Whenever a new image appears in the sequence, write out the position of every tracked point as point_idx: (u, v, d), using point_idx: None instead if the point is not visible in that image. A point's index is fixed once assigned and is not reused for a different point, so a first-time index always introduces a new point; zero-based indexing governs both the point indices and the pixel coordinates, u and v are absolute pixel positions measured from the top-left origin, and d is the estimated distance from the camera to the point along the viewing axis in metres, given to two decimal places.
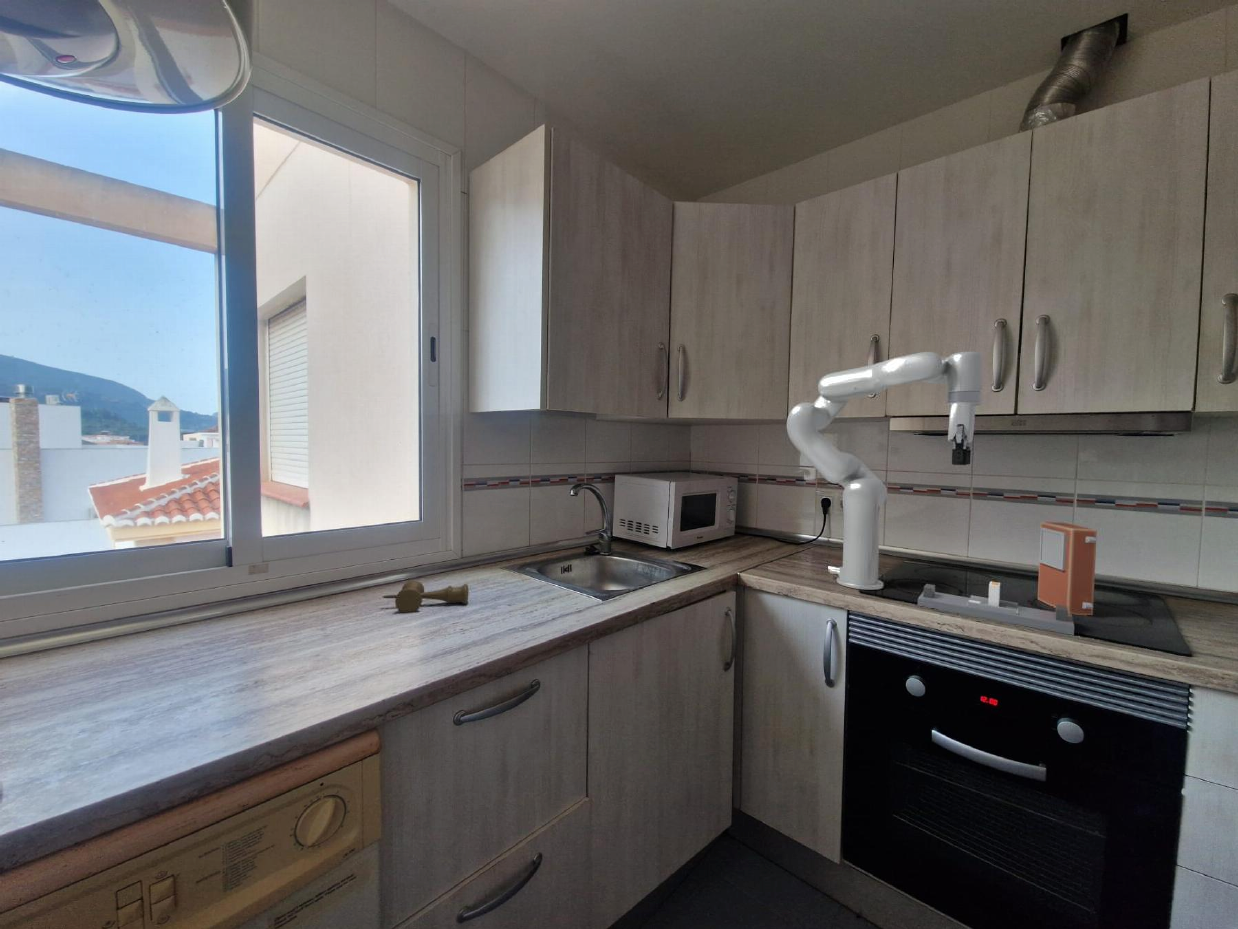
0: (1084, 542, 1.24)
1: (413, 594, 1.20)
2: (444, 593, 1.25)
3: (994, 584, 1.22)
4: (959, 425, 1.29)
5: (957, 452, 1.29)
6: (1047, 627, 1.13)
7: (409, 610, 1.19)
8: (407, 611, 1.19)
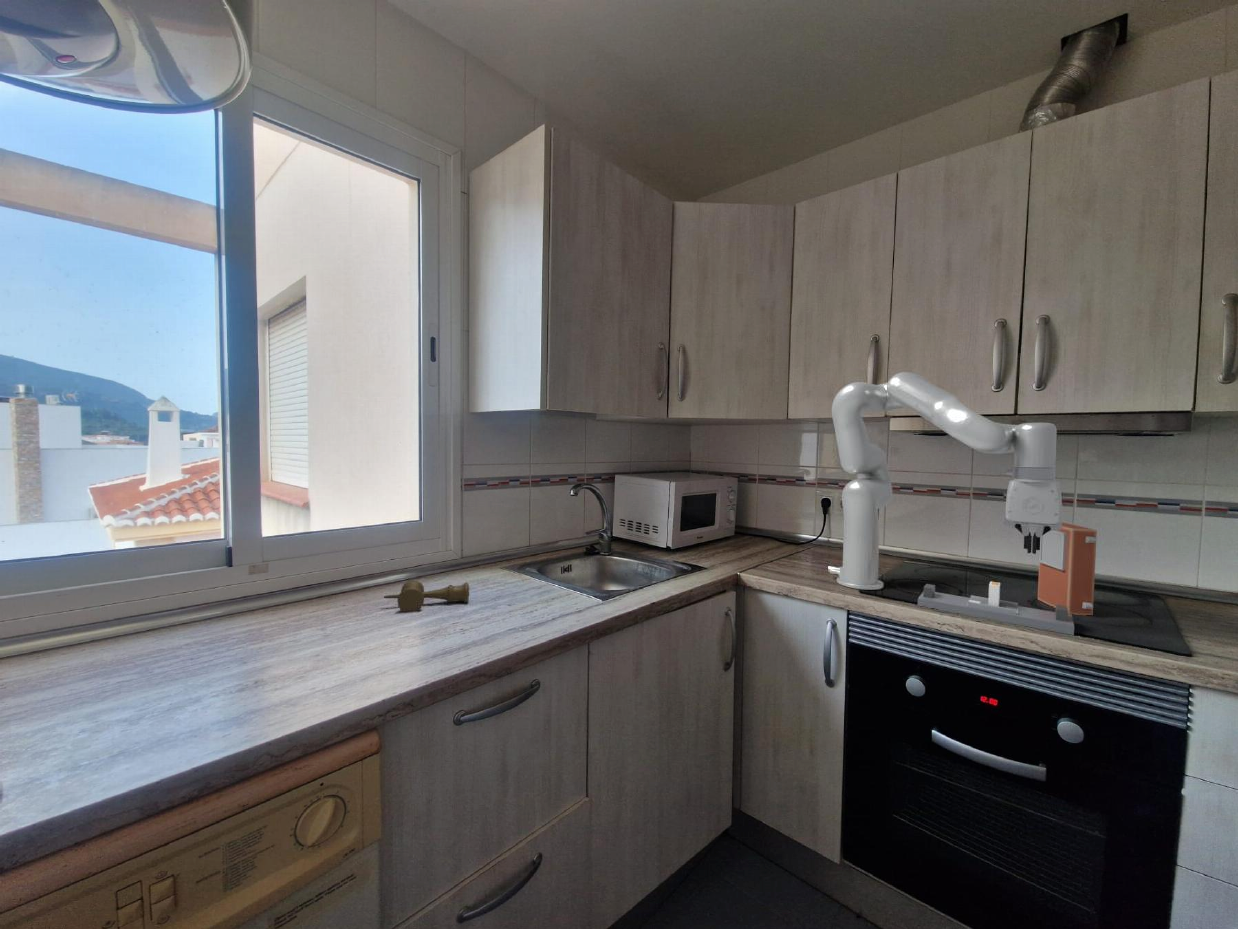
0: (1084, 542, 1.24)
1: (416, 594, 1.20)
2: (445, 592, 1.26)
3: (994, 584, 1.22)
4: None
5: None
6: (1047, 627, 1.13)
7: (411, 609, 1.20)
8: (409, 610, 1.20)
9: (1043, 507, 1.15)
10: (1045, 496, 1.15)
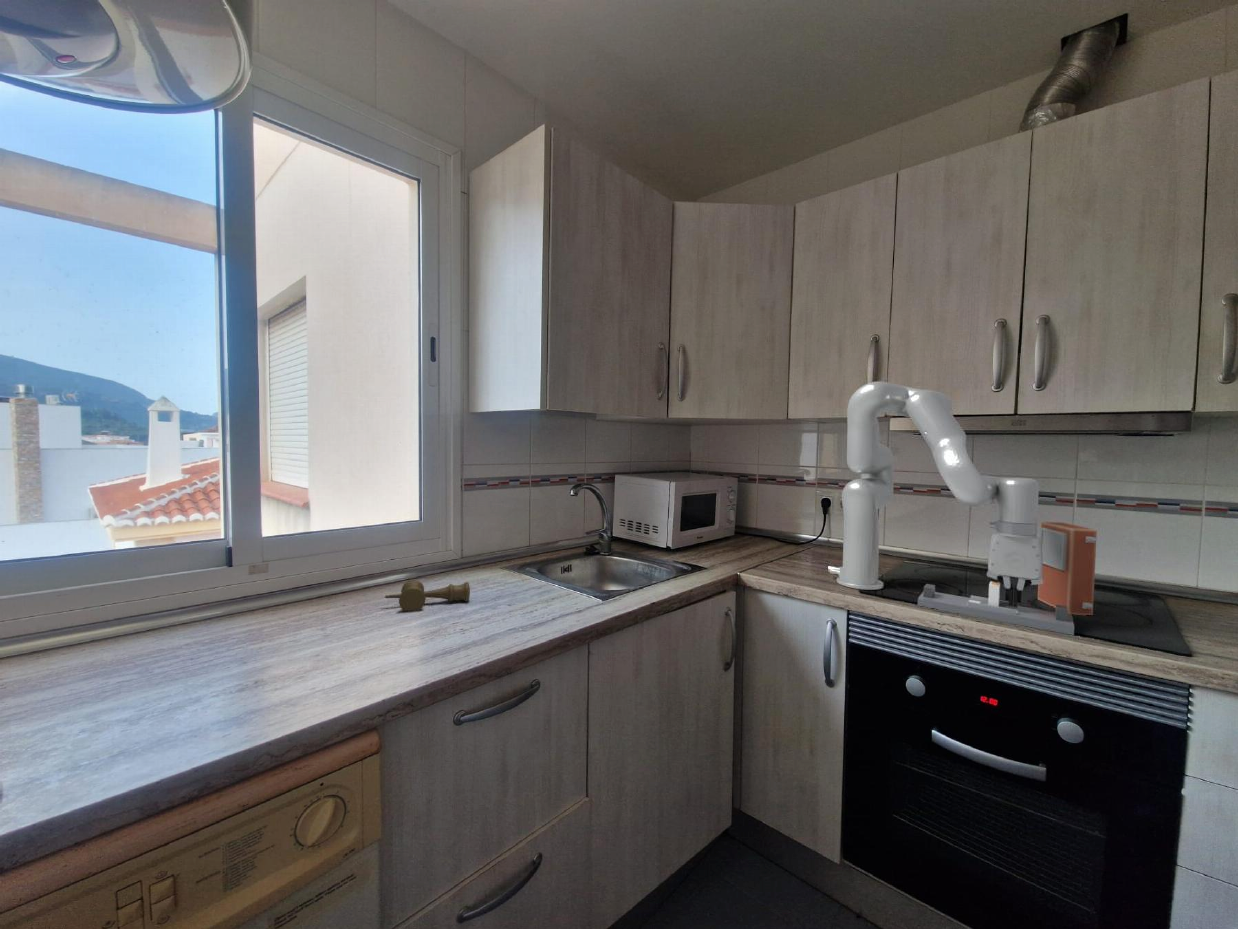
0: (1084, 542, 1.24)
1: (417, 593, 1.21)
2: (446, 591, 1.26)
3: (994, 584, 1.22)
4: None
5: None
6: (1047, 627, 1.13)
7: (413, 609, 1.20)
8: (411, 610, 1.20)
9: (1024, 562, 1.18)
10: (1026, 551, 1.17)
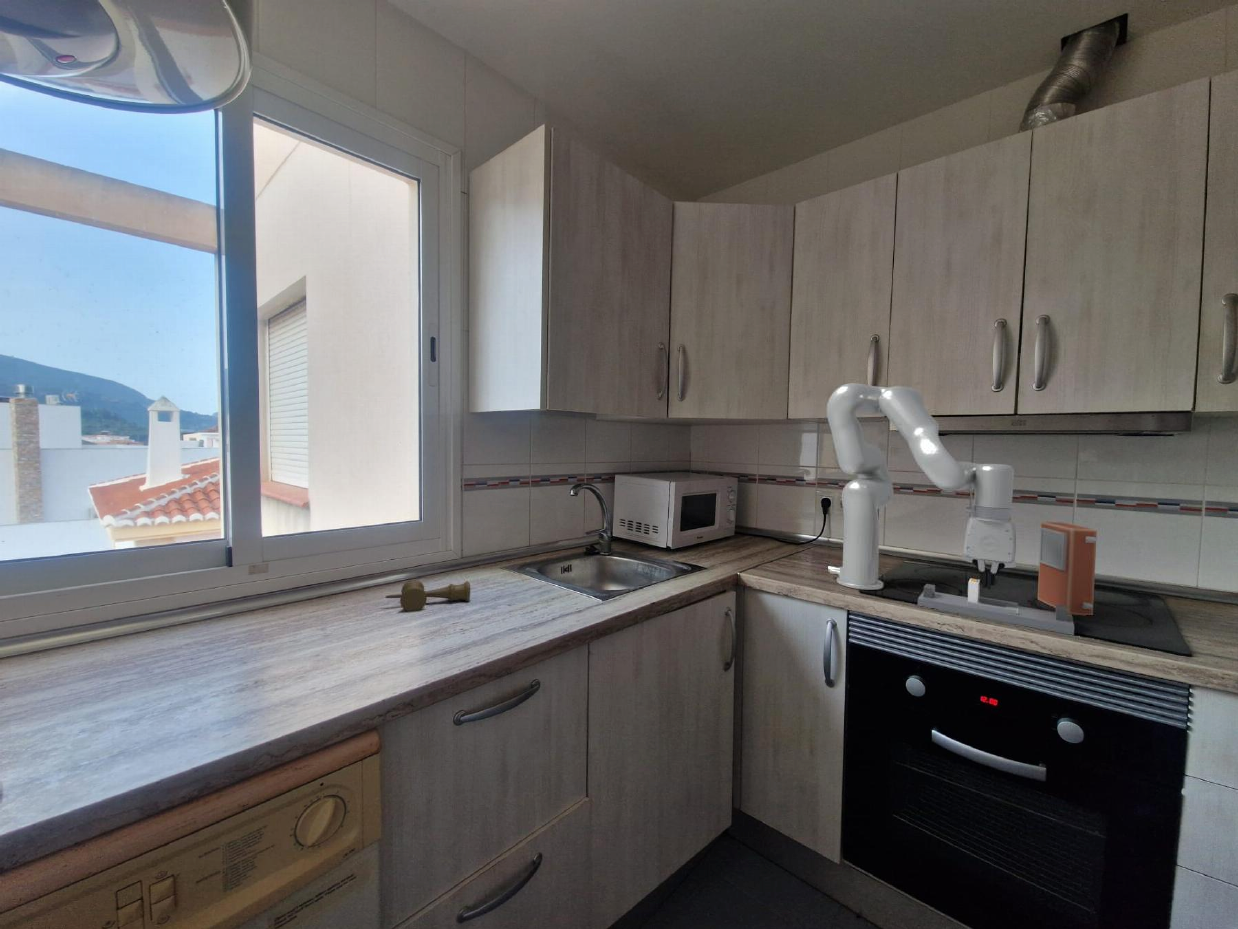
0: (1084, 542, 1.24)
1: (419, 593, 1.21)
2: (446, 591, 1.27)
3: (973, 581, 1.25)
4: None
5: (994, 576, 1.23)
6: (1047, 627, 1.13)
7: (414, 609, 1.21)
8: (412, 610, 1.20)
9: (998, 545, 1.21)
10: (1000, 535, 1.20)
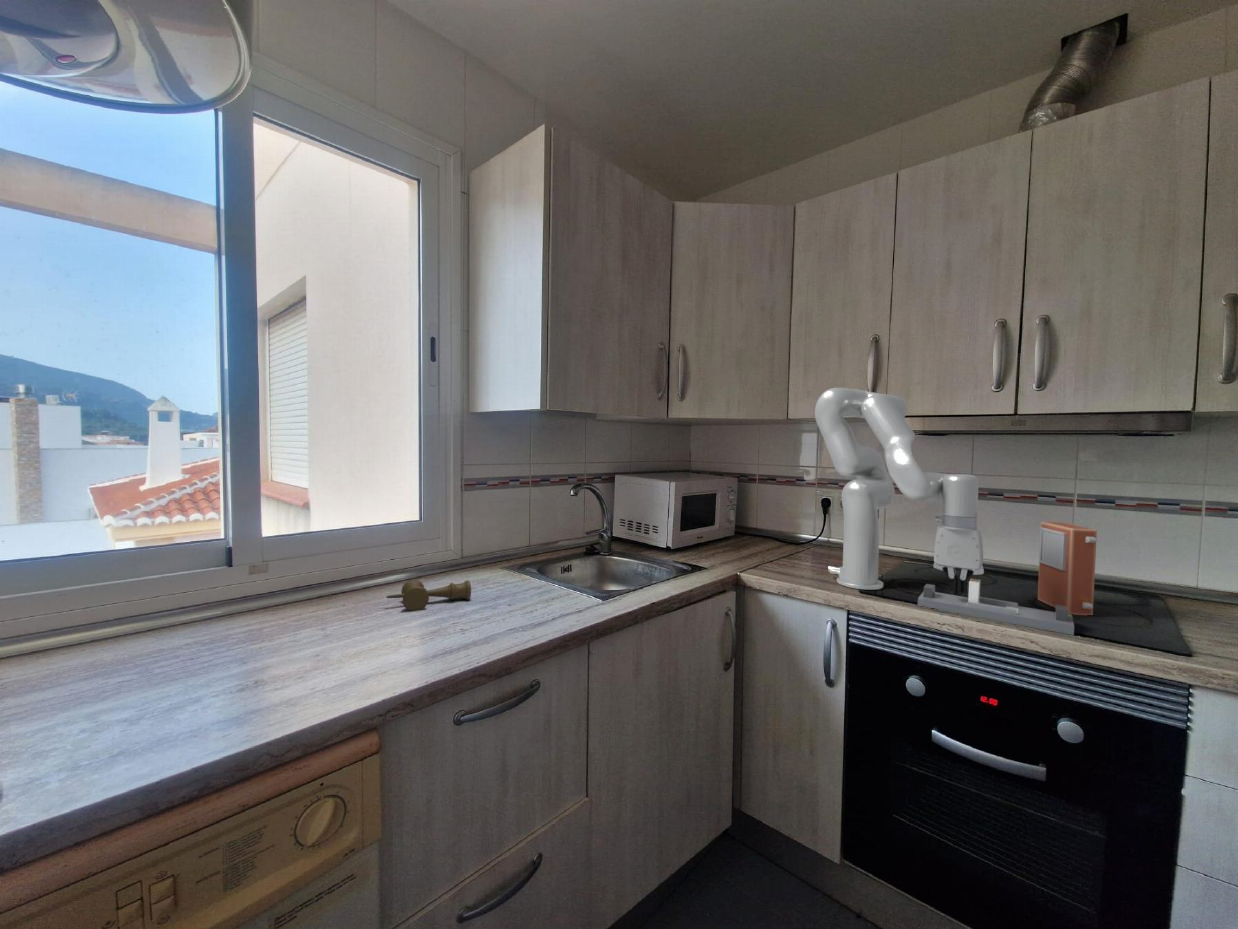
0: (1084, 542, 1.24)
1: (421, 592, 1.21)
2: (447, 590, 1.27)
3: (974, 581, 1.25)
4: None
5: (964, 583, 1.27)
6: (1047, 627, 1.13)
7: (417, 608, 1.21)
8: (415, 609, 1.21)
9: (966, 553, 1.25)
10: (967, 543, 1.24)
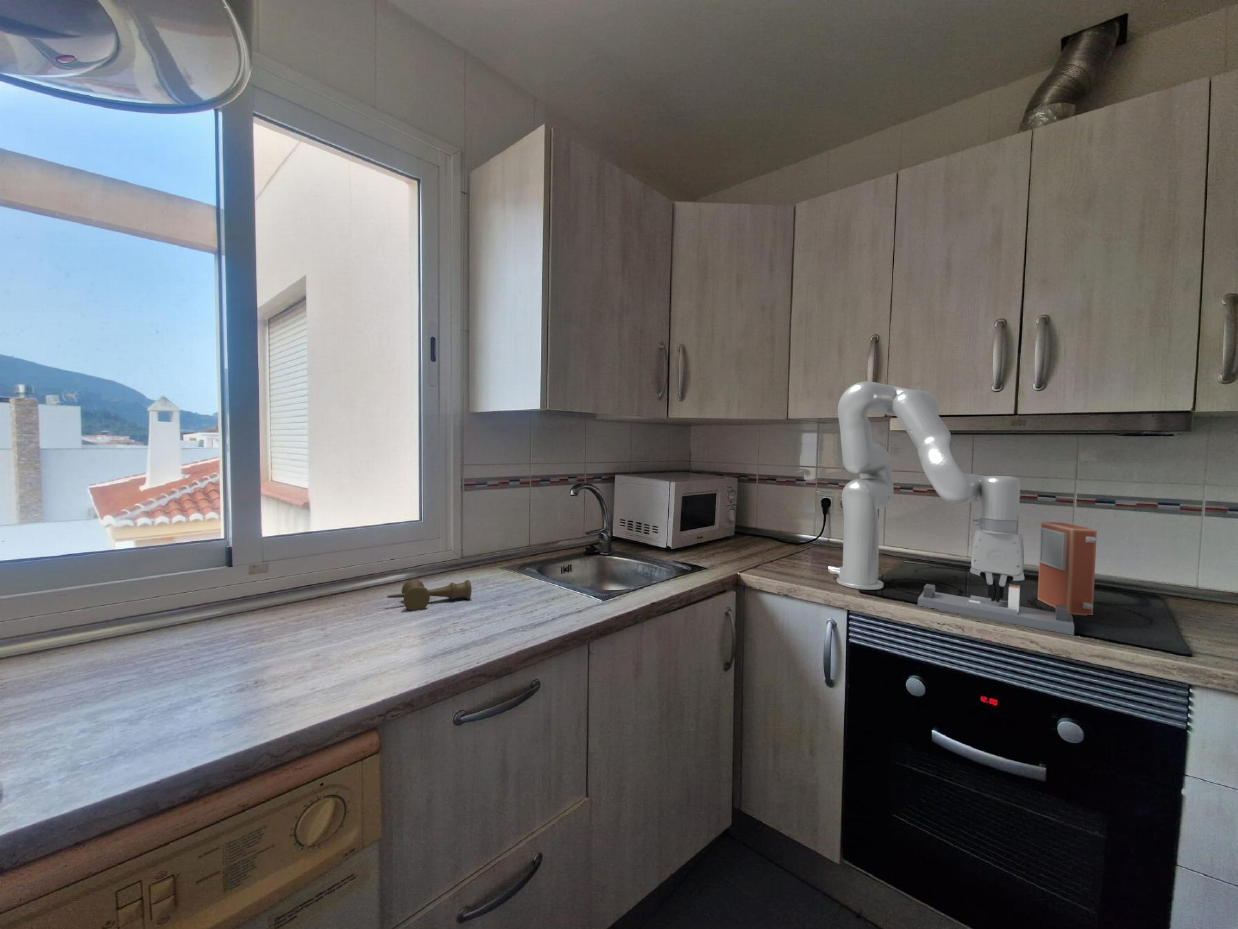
0: (1084, 542, 1.24)
1: (422, 592, 1.22)
2: (448, 589, 1.28)
3: (1014, 587, 1.20)
4: None
5: (1003, 589, 1.22)
6: (1047, 627, 1.13)
7: (418, 608, 1.21)
8: (416, 609, 1.21)
9: (1006, 558, 1.20)
10: (1008, 548, 1.19)
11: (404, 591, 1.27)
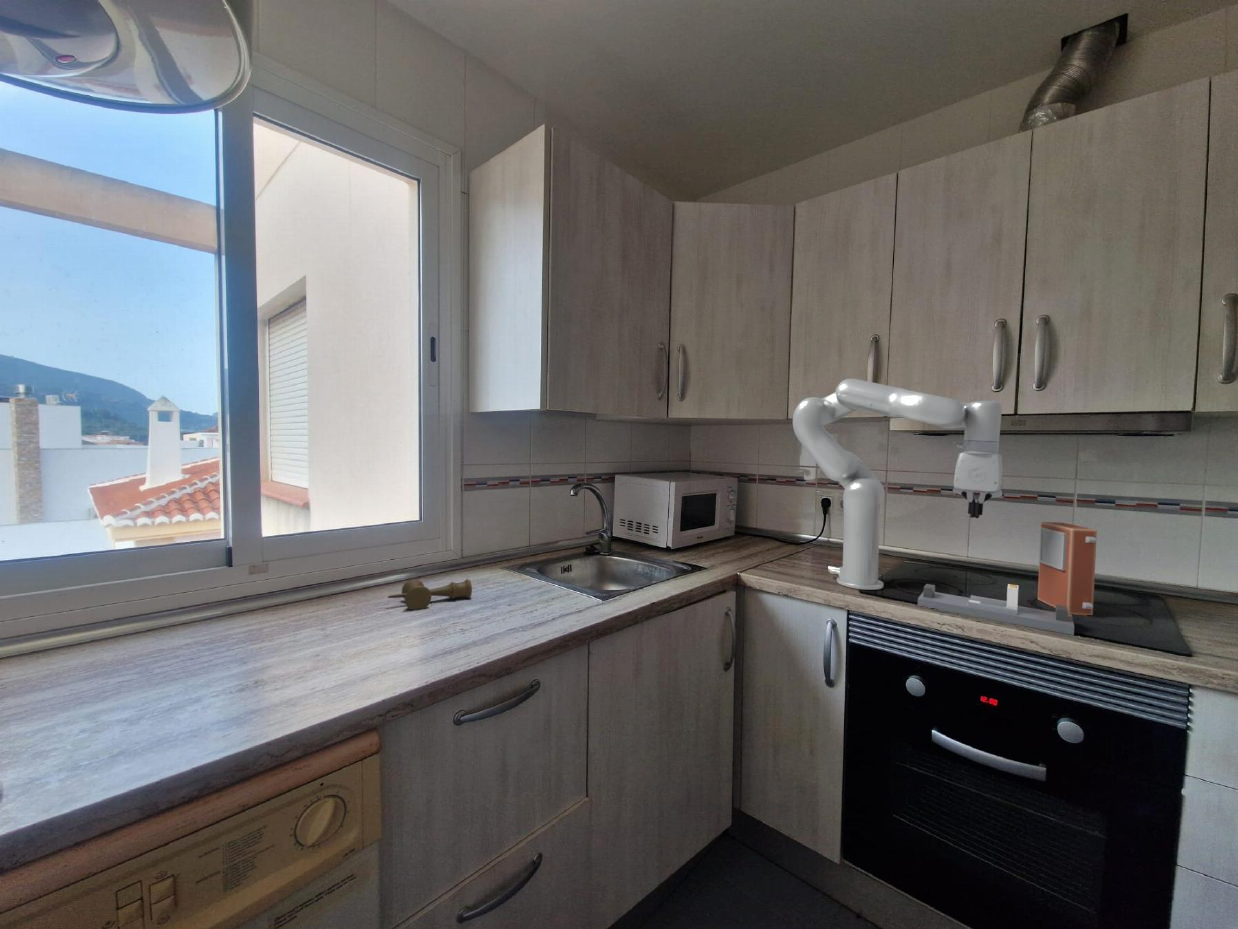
0: (1084, 542, 1.24)
1: (423, 592, 1.22)
2: (449, 589, 1.28)
3: (1012, 587, 1.20)
4: None
5: (982, 506, 1.32)
6: (1047, 627, 1.13)
7: (419, 607, 1.22)
8: (417, 608, 1.21)
9: (985, 476, 1.29)
10: (987, 466, 1.29)
11: (404, 591, 1.27)
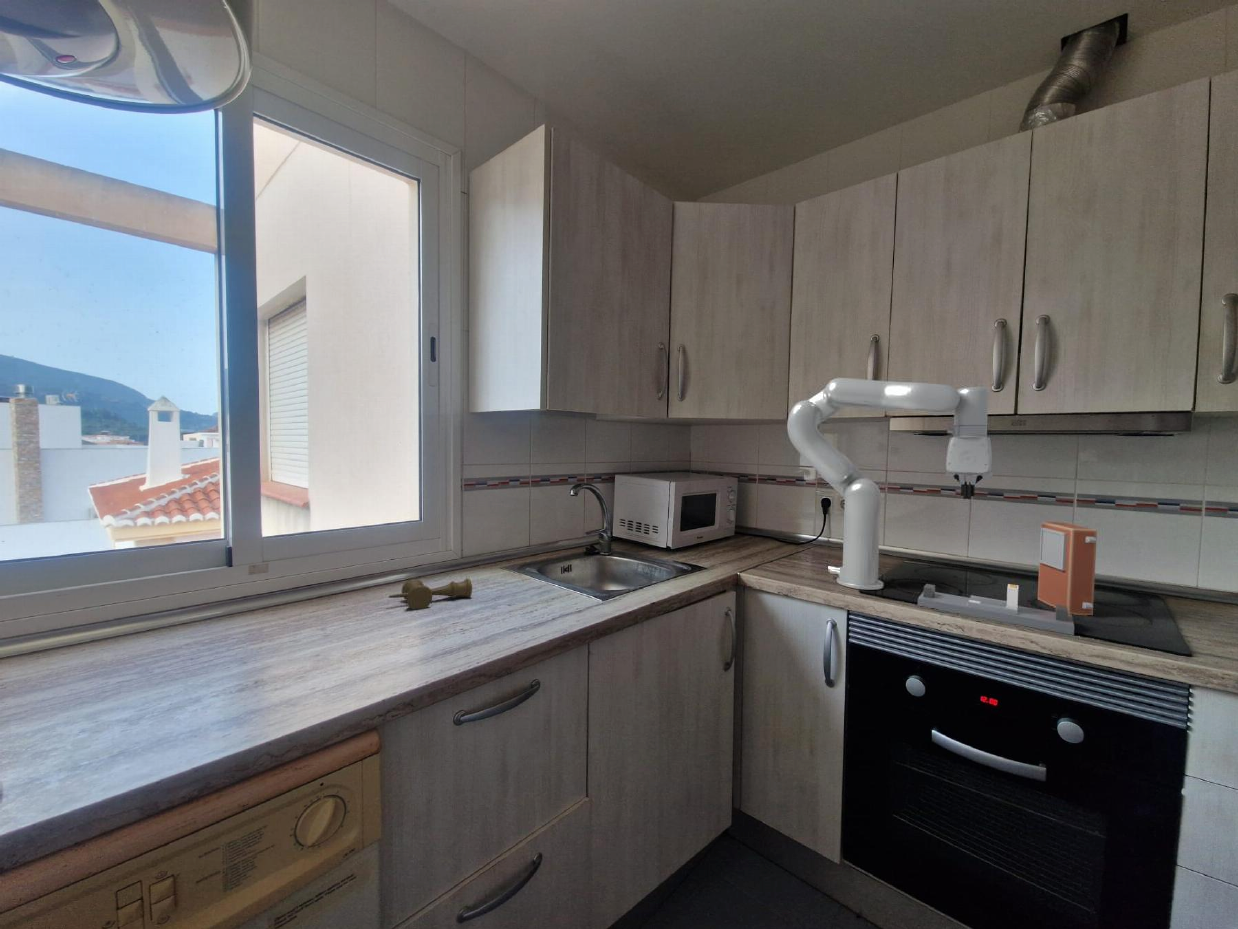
0: (1084, 542, 1.24)
1: (425, 591, 1.22)
2: (449, 588, 1.29)
3: (1012, 587, 1.20)
4: None
5: (974, 487, 1.38)
6: (1047, 627, 1.13)
7: (421, 607, 1.22)
8: (419, 608, 1.22)
9: (976, 458, 1.35)
10: (977, 449, 1.35)
11: (404, 591, 1.27)
